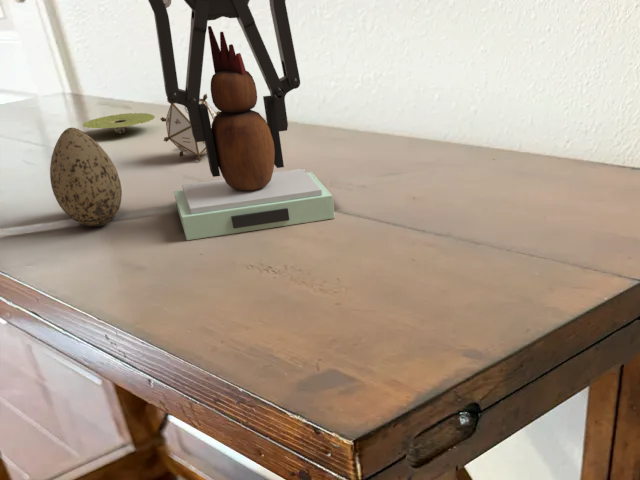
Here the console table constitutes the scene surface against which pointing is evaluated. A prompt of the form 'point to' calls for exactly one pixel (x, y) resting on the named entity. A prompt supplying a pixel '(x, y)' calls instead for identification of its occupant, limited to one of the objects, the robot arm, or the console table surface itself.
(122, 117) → the olive green flat disc
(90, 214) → the decorative egg
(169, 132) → the game die
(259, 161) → the wooden figurine
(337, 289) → the console table surface
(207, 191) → the kitchen scale
